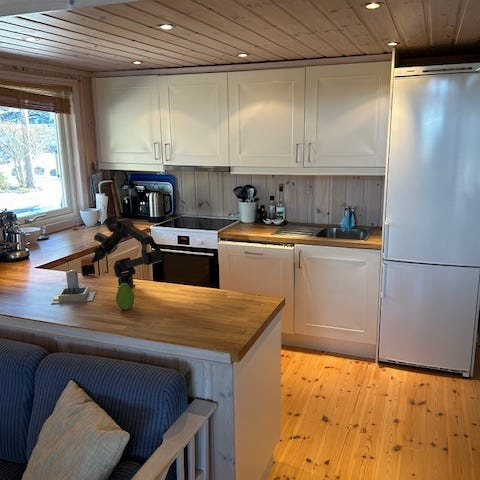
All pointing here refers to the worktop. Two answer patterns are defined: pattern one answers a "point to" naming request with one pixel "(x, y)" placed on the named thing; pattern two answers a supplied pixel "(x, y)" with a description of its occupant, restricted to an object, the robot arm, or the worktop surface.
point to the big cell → (72, 282)
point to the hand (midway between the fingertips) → (95, 260)
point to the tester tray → (74, 296)
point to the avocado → (125, 296)
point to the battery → (87, 265)
